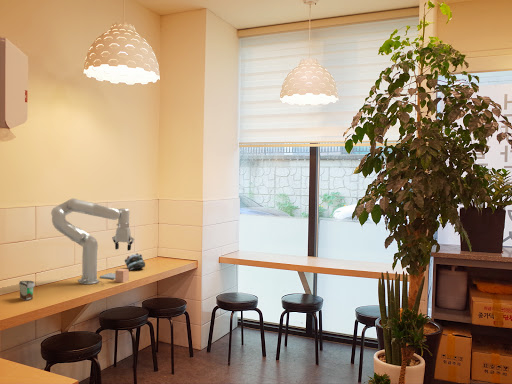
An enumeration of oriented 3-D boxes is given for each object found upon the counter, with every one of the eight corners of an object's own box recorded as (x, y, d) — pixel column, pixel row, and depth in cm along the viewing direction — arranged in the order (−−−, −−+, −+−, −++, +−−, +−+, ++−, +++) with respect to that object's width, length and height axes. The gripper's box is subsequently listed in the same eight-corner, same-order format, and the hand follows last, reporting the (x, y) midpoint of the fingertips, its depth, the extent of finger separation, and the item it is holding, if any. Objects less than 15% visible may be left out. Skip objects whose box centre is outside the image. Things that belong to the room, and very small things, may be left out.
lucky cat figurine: (125, 271, 360) (121, 254, 365) (128, 274, 372) (124, 257, 376) (144, 265, 363) (140, 248, 367) (147, 268, 374) (143, 252, 379)
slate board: (114, 279, 333) (114, 277, 333) (99, 277, 337) (99, 276, 337) (123, 276, 345) (123, 274, 345) (110, 274, 349) (110, 273, 348)
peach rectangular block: (123, 282, 325) (123, 271, 325) (115, 281, 327) (115, 270, 327) (128, 280, 331) (128, 269, 331) (120, 279, 333) (120, 268, 333)
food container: (38, 299, 278) (38, 283, 277) (27, 301, 273) (27, 284, 273) (29, 295, 286) (29, 279, 286) (19, 297, 281) (19, 281, 281)
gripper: (109, 225, 331) (109, 249, 332) (131, 227, 326) (131, 251, 327) (115, 224, 338) (115, 248, 339) (137, 226, 334) (136, 249, 334)
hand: (122, 249), depth 333 cm, fingers open, 9 cm apart
